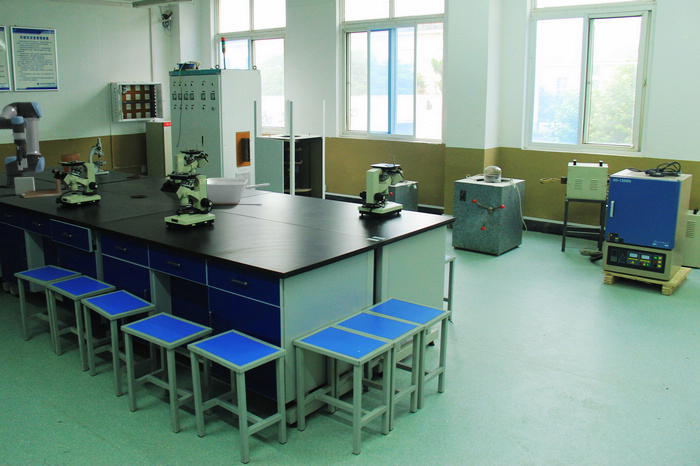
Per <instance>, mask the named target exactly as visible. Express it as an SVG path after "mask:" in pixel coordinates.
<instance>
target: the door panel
mask: <svg viewBox="0 0 700 466" xmlns="http://www.w3.org/2000/svg"><path fill="white" fill-rule="evenodd" d="M14 182H15V188H14V189H15V191H14V192H15V195H16V196H17V195H19V196H22V194H25V191H35V190H36V187H35V178H34V176H32V177H31V176H28V177H26V176H24V177H22V178H14Z"/></svg>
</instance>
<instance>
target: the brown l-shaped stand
mask: <svg viewBox="0 0 700 466" xmlns="http://www.w3.org/2000/svg"><path fill="white" fill-rule="evenodd" d="M56 170H57V171H59V170H58V169H54V171H56ZM54 171H53V172H54ZM54 181H55V188H50V189H38V190H37V189H35V191H25V194H22V195H21V196H22V197H23V198H24V199H30V198H43V197H44V196H45V197H54V196H62V195H63V193H62V183H61V179H60V180H59V179H56V178H55V177H54ZM61 194H62V195H61Z"/></svg>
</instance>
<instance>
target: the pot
mask: <svg viewBox="0 0 700 466" xmlns="http://www.w3.org/2000/svg"><path fill="white" fill-rule="evenodd" d="M205 180H207V194H206V196H207V198H208V201H209V200H211V201H212V202H213V204H212V205H237V204H238V203H240V201H241V199H242V196H243V193H244V191H245V189H246V190H250V189H256V188H257V189H258V188H262V187H269V186H270V183H259V184H253V185H247V184H248V180H249V179H248V178H244V177H237V178H236V177H209V178H206V179H205Z"/></svg>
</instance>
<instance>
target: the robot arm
mask: <svg viewBox="0 0 700 466" xmlns="http://www.w3.org/2000/svg"><path fill="white" fill-rule="evenodd" d="M1 111H2V112H1V113H0V130H12V136H13V137H12V138H13V144H14V145H16V146H15V149H16V152H15V153H16V155H12V156H7V157H5V159H4V167H5V173H6V175H5V176H6V178H5V183H4V185H5V186H4V187H5V188H8V189H9V188H10V189H11V188H12V189H15V182H14V178H22V177H25V175H24V173H25V174H26V173H42V172H43V171H44V169H45V164H46V163H45V157H44V156H42V155H43V154H41V153H40V143H39V142H40V141H39V127H38V126H39V121H40V118H42V115H43V114H42V110H41V106H40V104H39V103H38V102H36V101H35V102H34V101H14V102H11V103H9V104H7V105H5V106H4V107H3V108H2V110H1ZM25 146H26V147H25Z"/></svg>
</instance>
